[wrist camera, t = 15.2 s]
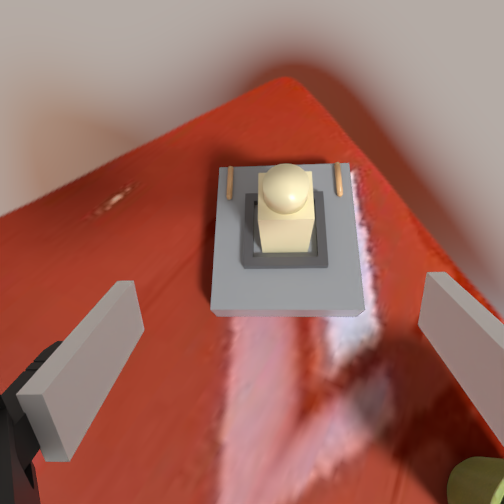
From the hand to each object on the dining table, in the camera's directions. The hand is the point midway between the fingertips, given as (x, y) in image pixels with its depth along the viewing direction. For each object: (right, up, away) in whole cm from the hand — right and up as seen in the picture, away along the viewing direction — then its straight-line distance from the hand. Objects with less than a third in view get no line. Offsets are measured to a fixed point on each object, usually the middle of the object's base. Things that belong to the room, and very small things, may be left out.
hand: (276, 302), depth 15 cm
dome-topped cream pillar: (+3, +5, +22) cm, 23 cm away
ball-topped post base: (+3, +3, +26) cm, 26 cm away
